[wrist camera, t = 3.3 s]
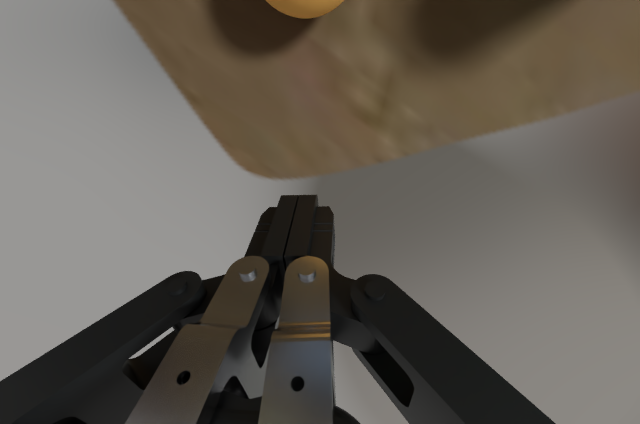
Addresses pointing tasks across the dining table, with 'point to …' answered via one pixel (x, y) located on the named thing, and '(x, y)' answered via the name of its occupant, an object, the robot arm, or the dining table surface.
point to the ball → (305, 7)
